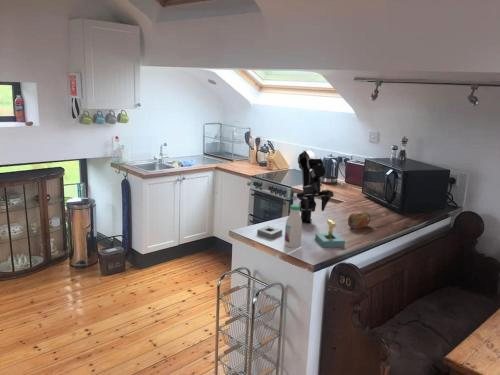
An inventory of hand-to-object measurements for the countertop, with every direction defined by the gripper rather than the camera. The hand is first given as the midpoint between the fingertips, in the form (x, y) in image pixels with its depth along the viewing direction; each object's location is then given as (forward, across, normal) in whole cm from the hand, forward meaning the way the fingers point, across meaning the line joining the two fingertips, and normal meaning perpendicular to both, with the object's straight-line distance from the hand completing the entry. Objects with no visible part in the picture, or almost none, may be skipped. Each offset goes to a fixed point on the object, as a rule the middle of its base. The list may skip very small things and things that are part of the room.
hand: (314, 211), depth 219 cm
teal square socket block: (+16, +8, +2) cm, 18 cm away
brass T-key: (+15, +8, +2) cm, 17 cm away
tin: (+5, +8, +33) cm, 34 cm away
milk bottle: (+18, -3, -14) cm, 24 cm away
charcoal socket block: (+13, -19, -12) cm, 26 cm away
